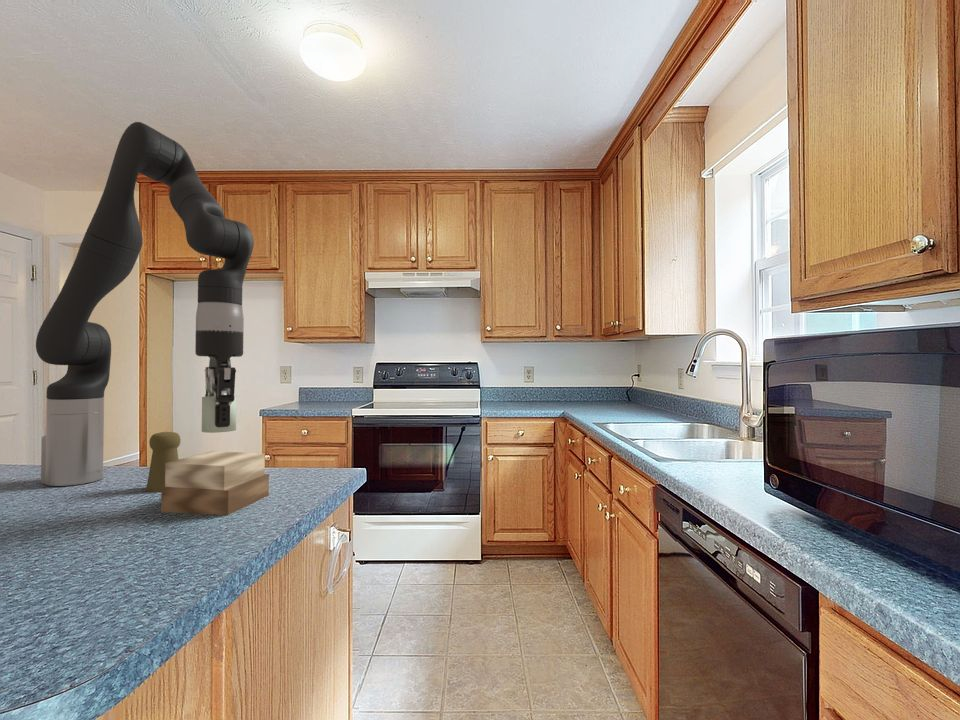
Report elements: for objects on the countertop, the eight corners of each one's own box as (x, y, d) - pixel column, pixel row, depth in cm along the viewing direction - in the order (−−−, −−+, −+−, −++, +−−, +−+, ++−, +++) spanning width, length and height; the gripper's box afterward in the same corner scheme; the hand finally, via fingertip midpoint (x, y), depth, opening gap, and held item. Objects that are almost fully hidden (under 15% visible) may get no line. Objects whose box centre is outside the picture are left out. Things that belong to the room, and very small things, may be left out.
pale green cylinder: (194, 432, 84) (194, 397, 84) (215, 428, 89) (215, 395, 89) (223, 432, 83) (223, 397, 83) (242, 428, 89) (242, 395, 89)
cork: (149, 485, 97) (150, 431, 98) (184, 483, 100) (185, 429, 100) (143, 493, 92) (143, 435, 92) (180, 490, 94) (180, 433, 95)
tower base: (161, 514, 81) (161, 487, 81) (209, 495, 93) (210, 471, 93) (228, 518, 79) (228, 490, 79) (268, 498, 91) (268, 474, 91)
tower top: (165, 486, 81) (165, 462, 81) (211, 472, 92) (211, 451, 92) (224, 490, 80) (224, 466, 80) (264, 475, 90) (264, 453, 90)
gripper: (252, 328, 83) (251, 428, 83) (234, 332, 94) (233, 419, 94) (202, 326, 78) (201, 431, 78) (189, 330, 90) (188, 422, 89)
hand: (218, 424), depth 86 cm, fingers closed on pale green cylinder, 5 cm apart
